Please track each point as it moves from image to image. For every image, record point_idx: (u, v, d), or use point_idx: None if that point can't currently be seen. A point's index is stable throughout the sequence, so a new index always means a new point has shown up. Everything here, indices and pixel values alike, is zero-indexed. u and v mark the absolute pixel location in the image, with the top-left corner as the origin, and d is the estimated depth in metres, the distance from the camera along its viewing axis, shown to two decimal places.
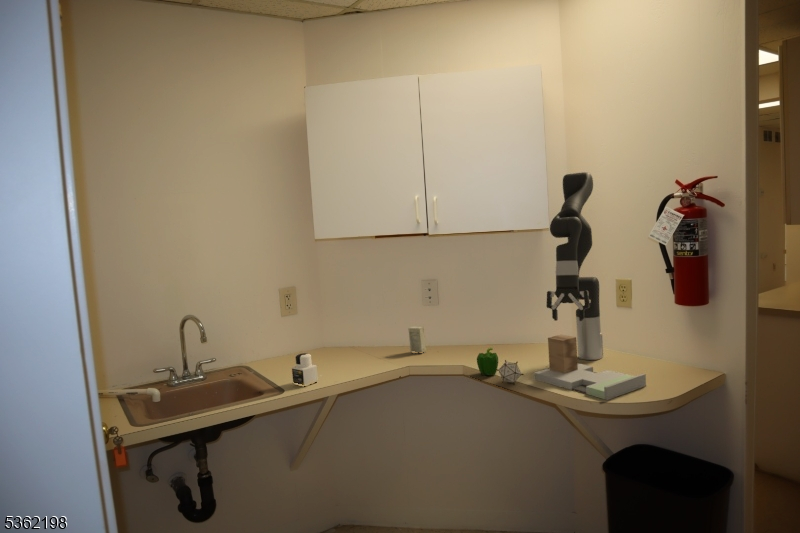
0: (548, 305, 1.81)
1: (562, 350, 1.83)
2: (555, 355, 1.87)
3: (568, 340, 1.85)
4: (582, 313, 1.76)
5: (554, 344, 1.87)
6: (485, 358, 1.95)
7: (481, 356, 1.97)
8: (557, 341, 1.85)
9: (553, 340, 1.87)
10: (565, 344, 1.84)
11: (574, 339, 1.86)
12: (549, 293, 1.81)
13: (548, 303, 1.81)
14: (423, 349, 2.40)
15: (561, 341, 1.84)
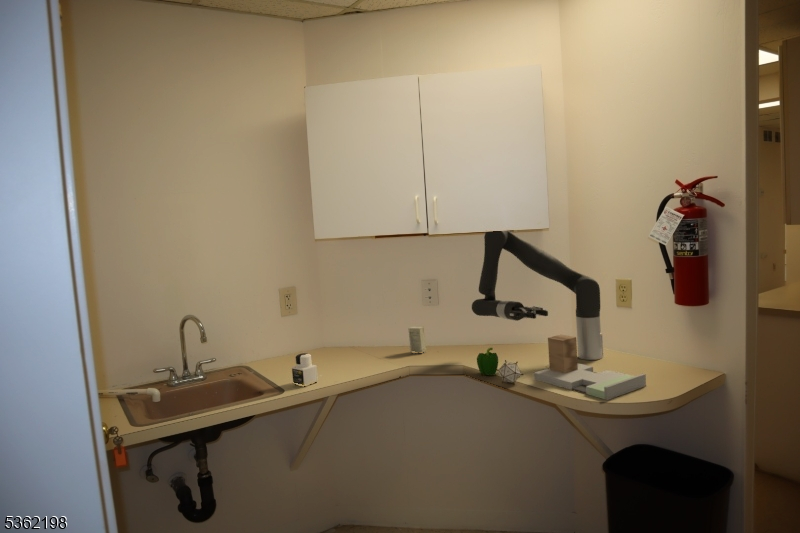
0: None
1: (562, 350, 1.83)
2: (555, 355, 1.87)
3: (568, 340, 1.85)
4: None
5: (554, 344, 1.87)
6: (485, 358, 1.95)
7: (481, 356, 1.97)
8: (557, 341, 1.85)
9: (553, 340, 1.87)
10: (565, 344, 1.84)
11: (574, 339, 1.86)
12: None
13: None
14: (423, 349, 2.40)
15: (561, 341, 1.84)
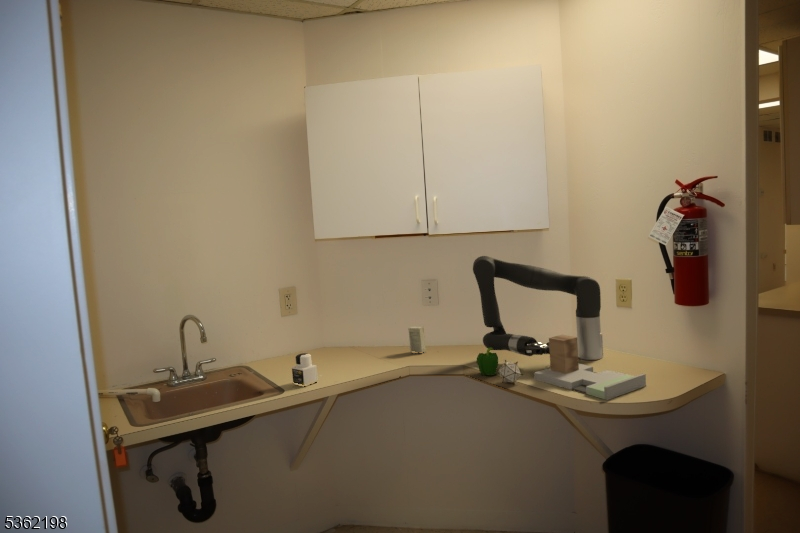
0: None
1: (563, 350, 1.83)
2: (556, 355, 1.87)
3: (569, 340, 1.84)
4: None
5: (555, 344, 1.86)
6: (485, 358, 1.95)
7: (481, 356, 1.97)
8: (558, 341, 1.85)
9: (554, 340, 1.86)
10: (566, 344, 1.83)
11: (575, 339, 1.86)
12: None
13: None
14: (423, 349, 2.40)
15: (562, 341, 1.83)
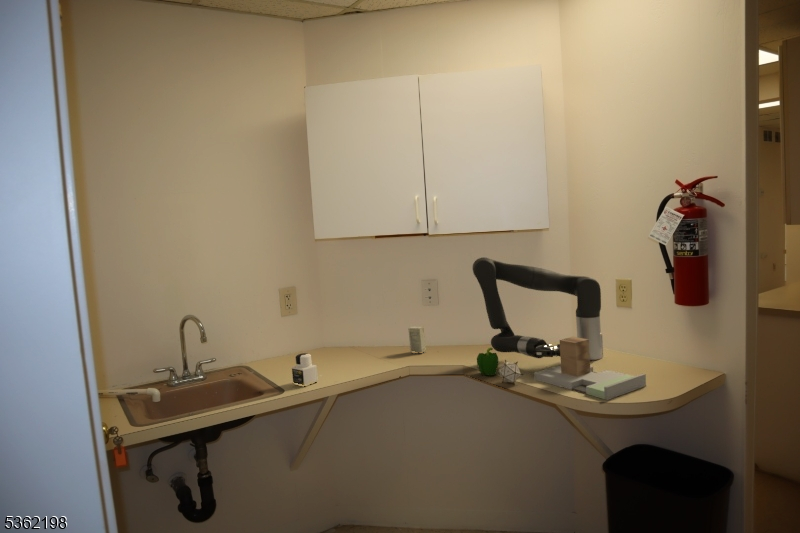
0: None
1: (575, 352, 1.79)
2: (567, 358, 1.82)
3: (581, 342, 1.80)
4: None
5: (566, 346, 1.82)
6: (485, 358, 1.95)
7: (481, 356, 1.97)
8: (569, 343, 1.80)
9: (565, 342, 1.82)
10: (577, 346, 1.79)
11: (587, 341, 1.81)
12: None
13: None
14: (423, 349, 2.40)
15: (573, 343, 1.79)
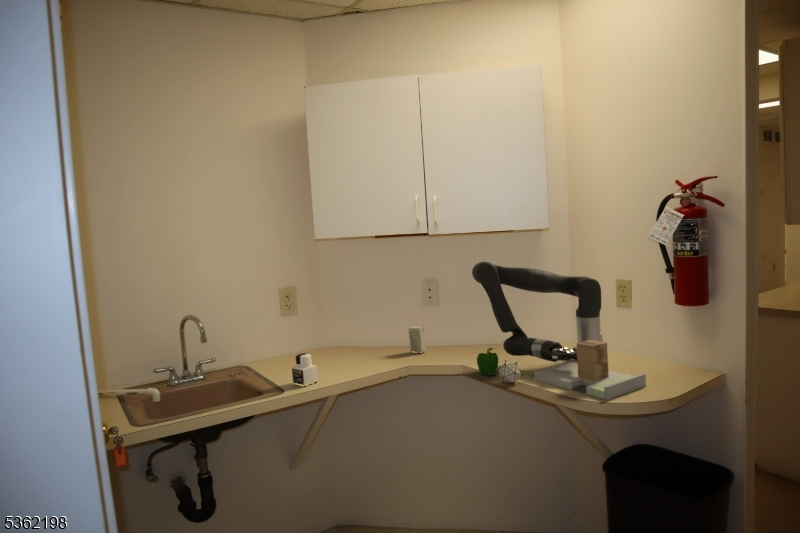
0: None
1: (593, 356, 1.72)
2: (584, 362, 1.76)
3: (599, 346, 1.73)
4: None
5: (583, 349, 1.75)
6: (485, 358, 1.95)
7: (481, 356, 1.97)
8: (587, 347, 1.74)
9: (582, 346, 1.75)
10: (596, 350, 1.72)
11: (605, 345, 1.75)
12: None
13: None
14: (423, 349, 2.40)
15: (591, 347, 1.72)
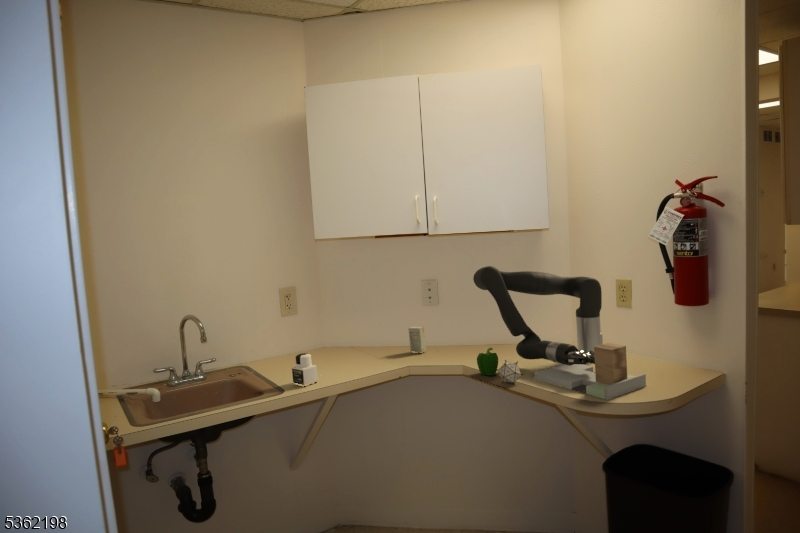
0: None
1: (612, 360, 1.66)
2: (602, 366, 1.69)
3: (618, 349, 1.67)
4: None
5: (601, 353, 1.69)
6: (485, 358, 1.95)
7: (481, 356, 1.97)
8: (605, 350, 1.68)
9: (600, 349, 1.69)
10: (614, 354, 1.66)
11: (624, 348, 1.69)
12: None
13: None
14: (423, 349, 2.40)
15: (610, 350, 1.66)
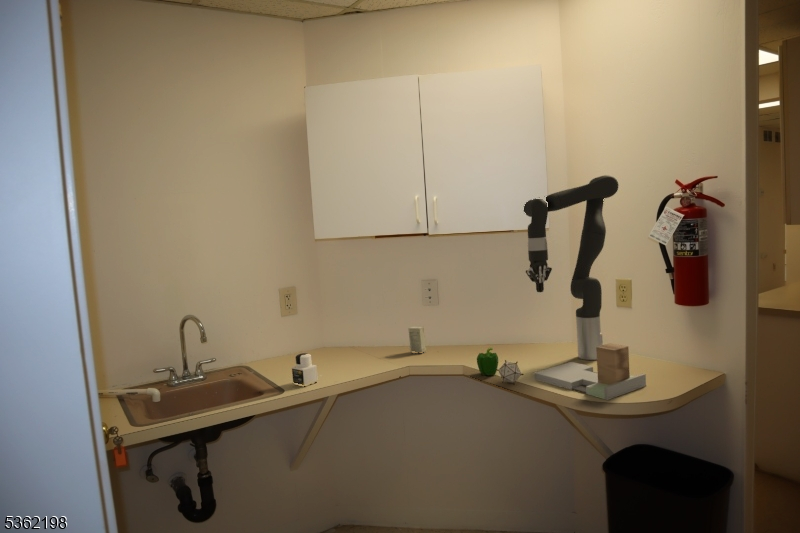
0: None
1: (614, 360, 1.65)
2: (604, 366, 1.69)
3: (620, 350, 1.66)
4: None
5: (604, 353, 1.68)
6: (485, 358, 1.95)
7: (481, 356, 1.97)
8: (608, 351, 1.67)
9: (603, 350, 1.68)
10: (617, 354, 1.65)
11: (626, 348, 1.68)
12: None
13: None
14: (423, 349, 2.40)
15: (612, 351, 1.65)
